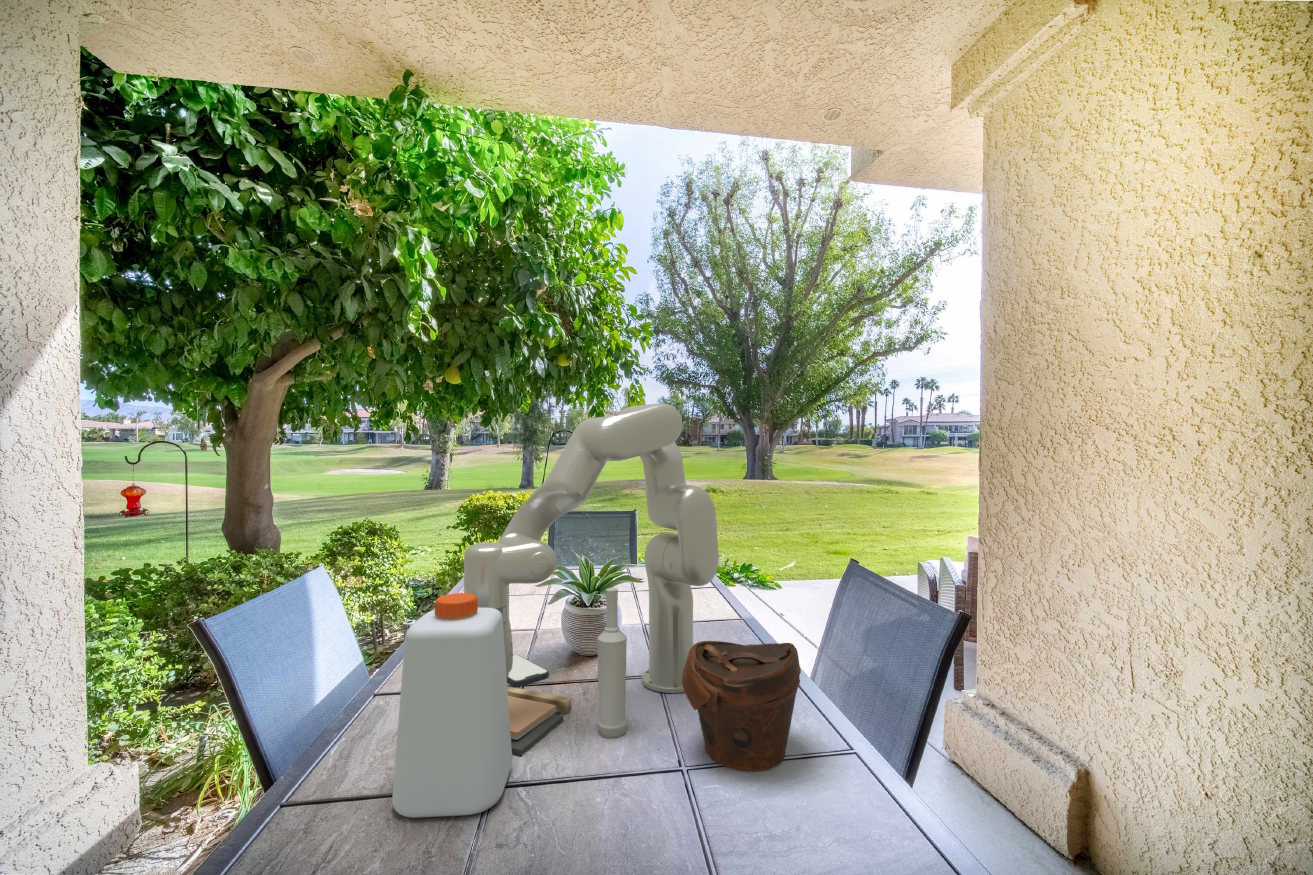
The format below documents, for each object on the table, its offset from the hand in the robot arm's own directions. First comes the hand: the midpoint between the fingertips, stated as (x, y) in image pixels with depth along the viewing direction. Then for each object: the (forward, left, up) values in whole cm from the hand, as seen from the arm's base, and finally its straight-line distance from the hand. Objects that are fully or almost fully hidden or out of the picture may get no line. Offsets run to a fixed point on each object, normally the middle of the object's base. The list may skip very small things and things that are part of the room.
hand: (486, 721), depth 99 cm
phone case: (+13, -26, -4) cm, 30 cm away
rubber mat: (0, -4, -3) cm, 5 cm away
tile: (0, -11, -2) cm, 12 cm away
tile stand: (0, -14, -3) cm, 14 cm away
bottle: (-19, -10, -3) cm, 22 cm away
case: (-42, -12, -3) cm, 44 cm away
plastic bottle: (-5, +13, -3) cm, 15 cm away
